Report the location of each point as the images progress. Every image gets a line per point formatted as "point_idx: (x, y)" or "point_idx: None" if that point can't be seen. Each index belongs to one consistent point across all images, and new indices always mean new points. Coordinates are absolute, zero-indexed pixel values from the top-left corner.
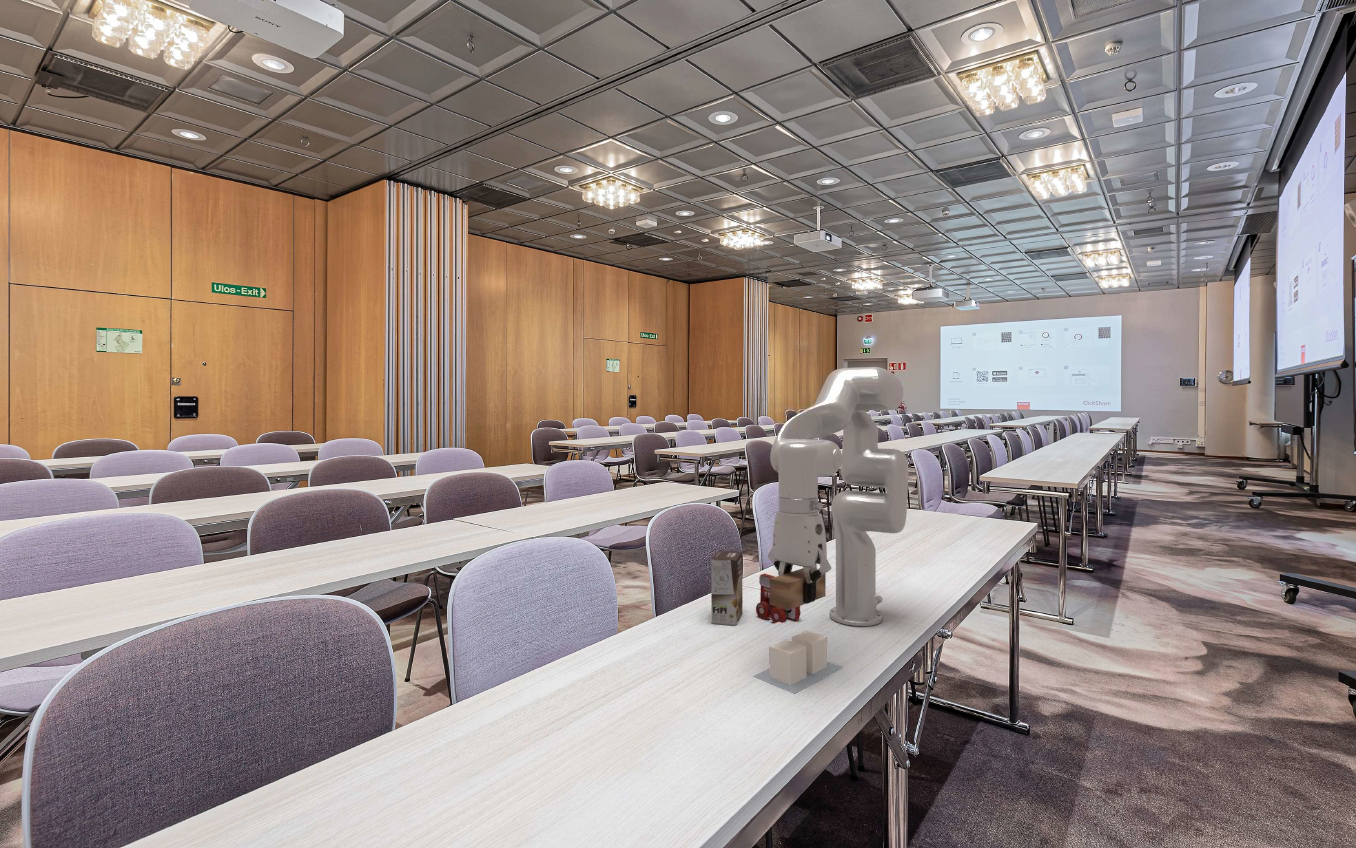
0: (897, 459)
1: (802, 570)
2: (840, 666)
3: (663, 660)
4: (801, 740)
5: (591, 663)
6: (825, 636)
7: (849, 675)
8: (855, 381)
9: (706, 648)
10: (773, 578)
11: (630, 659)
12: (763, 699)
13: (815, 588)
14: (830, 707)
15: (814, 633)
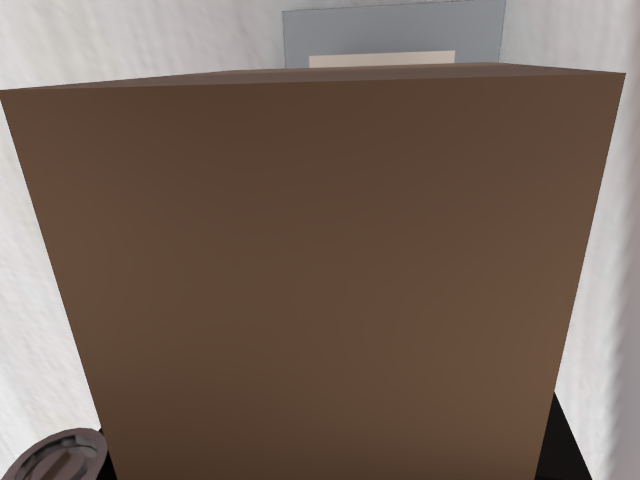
0: None
1: (166, 378)
2: (489, 2)
3: (65, 344)
4: (593, 450)
5: (11, 439)
6: (443, 52)
7: (535, 7)
8: None
9: None
10: None
11: (25, 384)
12: None
13: (576, 460)
14: (585, 280)
15: (371, 64)
